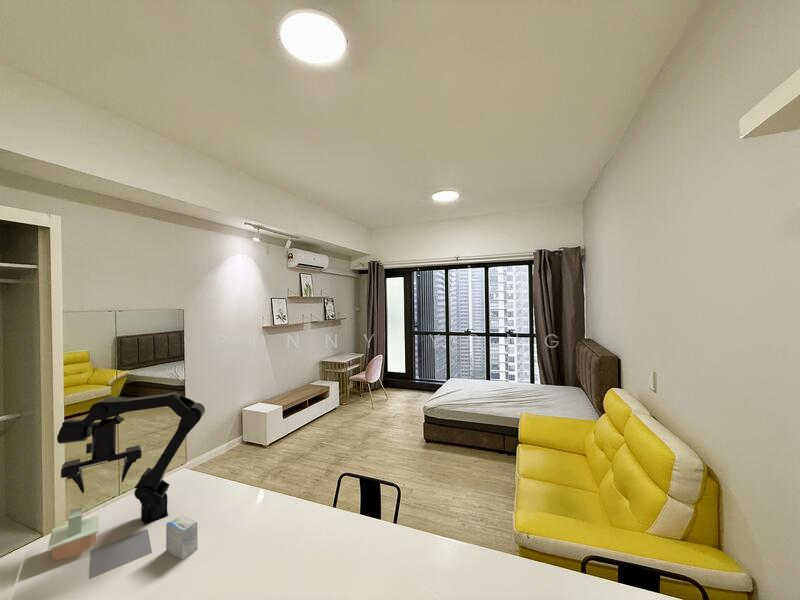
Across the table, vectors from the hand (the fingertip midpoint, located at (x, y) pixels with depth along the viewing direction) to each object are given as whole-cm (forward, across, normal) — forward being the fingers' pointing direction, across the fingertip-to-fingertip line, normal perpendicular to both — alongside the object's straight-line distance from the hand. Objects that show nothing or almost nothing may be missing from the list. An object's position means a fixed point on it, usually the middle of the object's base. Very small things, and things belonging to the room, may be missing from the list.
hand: (103, 486), depth 103 cm
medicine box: (+13, -17, +29) cm, 36 cm away
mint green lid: (+8, +6, +7) cm, 12 cm away
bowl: (+13, +6, +6) cm, 16 cm away
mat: (+13, -4, +18) cm, 23 cm away
